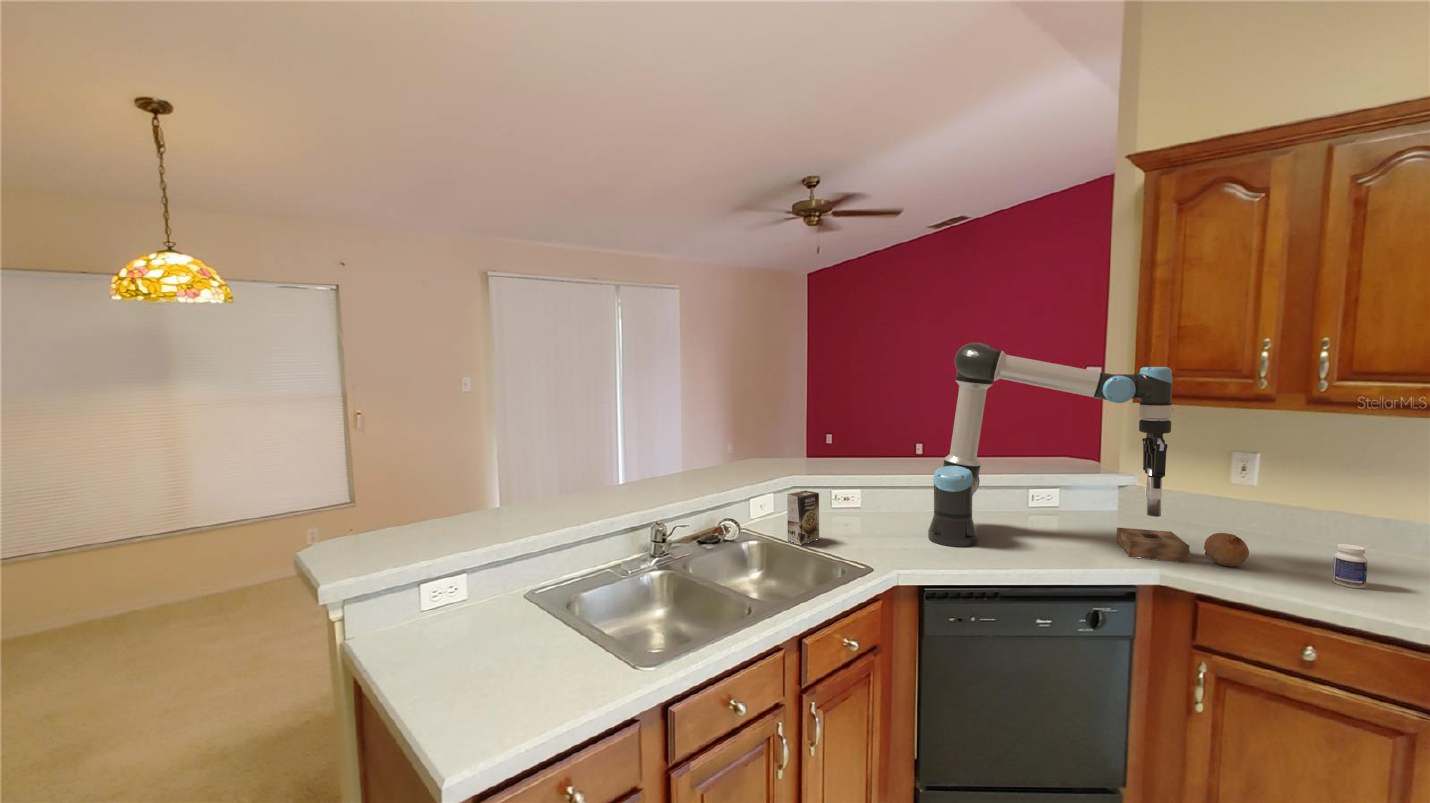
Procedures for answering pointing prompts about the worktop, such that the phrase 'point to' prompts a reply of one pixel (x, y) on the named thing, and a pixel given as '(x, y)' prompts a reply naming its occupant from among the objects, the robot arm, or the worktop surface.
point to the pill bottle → (1350, 566)
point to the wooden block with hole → (1152, 544)
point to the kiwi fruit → (1226, 549)
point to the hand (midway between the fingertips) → (1153, 497)
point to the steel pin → (1152, 500)
